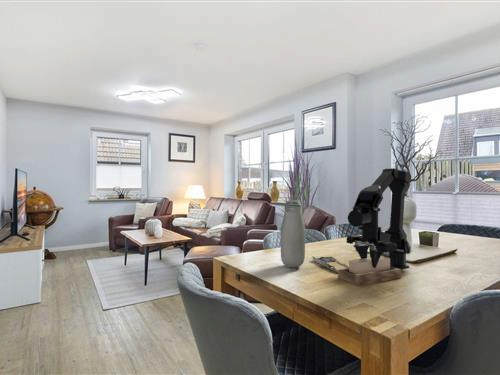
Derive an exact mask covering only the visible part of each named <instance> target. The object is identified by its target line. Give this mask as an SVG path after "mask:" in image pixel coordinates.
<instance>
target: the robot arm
mask: <svg viewBox="0 0 500 375" xmlns="http://www.w3.org/2000/svg"><path fill="white" fill-rule="evenodd" d="M411 182H412V175H411V174H410V173H409V172H407V171H404V170H399V169H398V168H395V167H394V168H393V167H391V168H383V169H382V172H381V173H380V175H379V176H378V177H377V178H376V179H375V180H374V182H372V184H371V185H370V186H366V187H364V188H362V189H361V190H360V192H359V193H358V195H357V197H356V200H355V203H354V205H353V207H352V210H351V211H350V212H349V213H348V215H347V221H348V223H349V224H350V226H352V227H358V229H359V230H360V231H361V235H359V234H353V235H352V234H349V235H348V236H347V237H346V244H350V245H353V247H354V248H355V250H356V252H357V254H358V255H359V259H363V258H368V250H369V254H370V257H371V261H372V265H373V268H376V266H377V264H378V261H379V259H380V256H383V253H388V258H390V266H391V267H394V268H398V269H406V268H410V265H407V255H410V254H411V252H412V248H411V245H410V243H409V241H408V239H407V238H408V236H407V233H406V231H405V230H404V215H405V214H404V212H405V197H406V193H407V191H408V190H409V189H410V187H411V186H410V185H411ZM387 188H389V190H390V192H391V202H390V203H391V204H390V222H389V227H388V228H387V230H385V231H382V227H381V226H379V212H381V208H380V207H379V206H380V205H381V204H382V201H383V200H384V196H383V193H384V192H385V191H386V190H387ZM370 246H371V247H373V248H372V249H371V248H370ZM369 248H370V249H369Z"/></svg>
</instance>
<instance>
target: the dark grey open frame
mask: <svg viewBox="0 0 500 375" xmlns="http://www.w3.org/2000/svg"><path fill="white" fill-rule="evenodd" d="M311 257H312V260H313V261H314V262H316V263H317V264H319V265H321V266H323V267H325V268H327V269H330V270H331V271H333V272H335V273H337V274H339V270H340V269H336V268H335V266H334V265H331V264H329V263H336V264H338V265H340V266H341V267H343V268H344V269H346V268H349V264H348V265H347V264H346V263H342V262H340V261H338V260H337V259H336V258H335V257H333V256H327V257H326V256H321V257H318V258H317V257H315V256H311Z"/></svg>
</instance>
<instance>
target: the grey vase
mask: <svg viewBox="0 0 500 375" xmlns="http://www.w3.org/2000/svg"><path fill="white" fill-rule="evenodd" d="M284 203H285V204H284V208H283V209H284V212H283V219H282V221H281V224H280V259H281V262H282V264H283V265H284V266H285V267H287V268H290V269H292V268H293V269H295V268H299V267H301V266H302V265H303V264H304V262H305V257H306V226H305V225H306V224H305V221H304V218H303V205H302V203H301V201H300V200H296V199H293V200H292V199H290V200H288V201H286V202H284Z"/></svg>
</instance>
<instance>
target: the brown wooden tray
mask: <svg viewBox="0 0 500 375" xmlns="http://www.w3.org/2000/svg"><path fill="white" fill-rule="evenodd" d="M401 269H402V268H401ZM401 269H398V268H394V267H391V266H390V269H387V270H381V271H375V272H369V273H363V274H355V273H352V272H349V268H342V269H340V268H339V269H338V270H339V273H338V274H337V278H338V279H340V280H343V281H345V282H348V283H350V284H352V285H354V286H358V287H360V286H361V287H362V286H365V285H370V284H375V283H376V284H377V283H380V282H385V281H390V280H391V281H392V280H396V279H397V280H398V279H402V274H401V272H402V270H401Z"/></svg>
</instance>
